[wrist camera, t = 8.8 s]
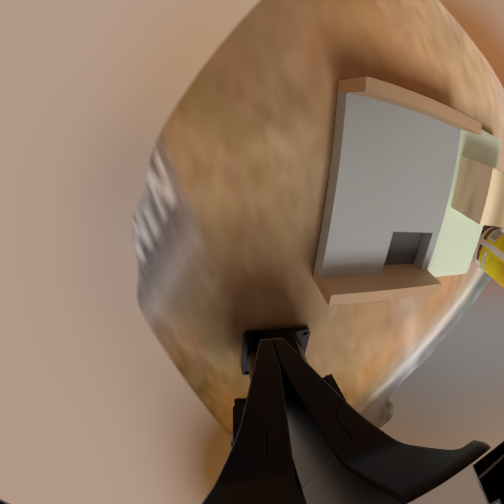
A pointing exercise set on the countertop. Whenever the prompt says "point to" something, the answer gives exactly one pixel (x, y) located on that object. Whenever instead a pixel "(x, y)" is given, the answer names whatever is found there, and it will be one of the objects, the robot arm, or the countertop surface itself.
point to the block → (479, 193)
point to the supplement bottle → (491, 254)
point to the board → (395, 194)
